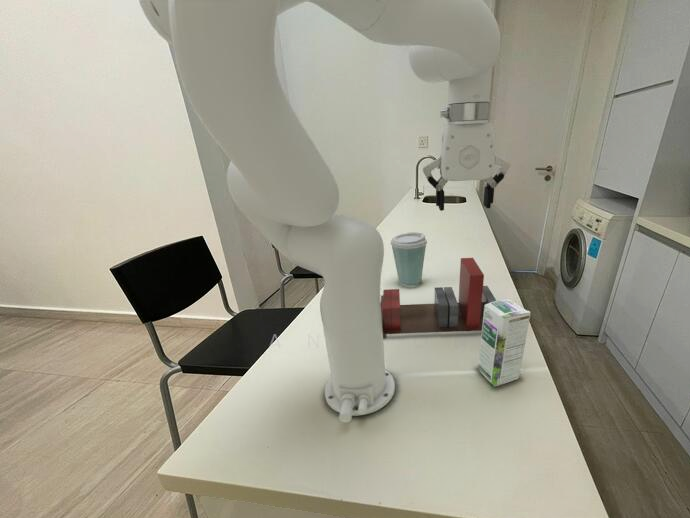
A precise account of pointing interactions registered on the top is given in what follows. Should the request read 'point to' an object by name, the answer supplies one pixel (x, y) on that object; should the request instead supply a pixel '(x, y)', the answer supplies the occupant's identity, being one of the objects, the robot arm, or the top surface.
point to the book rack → (427, 313)
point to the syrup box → (502, 341)
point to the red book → (470, 292)
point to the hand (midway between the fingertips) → (464, 208)
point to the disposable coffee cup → (409, 256)
